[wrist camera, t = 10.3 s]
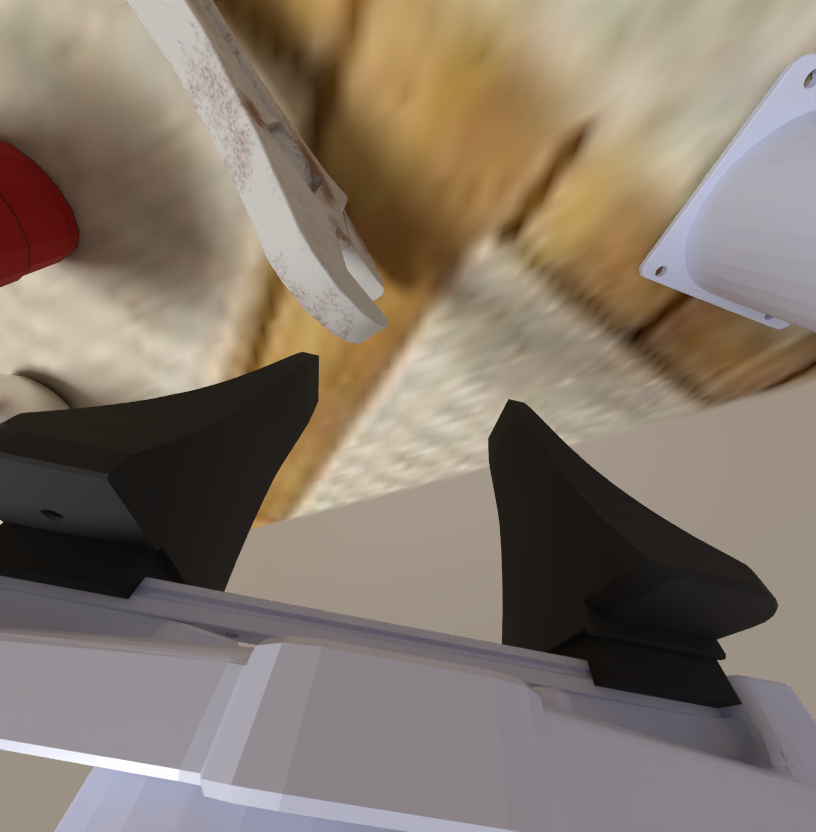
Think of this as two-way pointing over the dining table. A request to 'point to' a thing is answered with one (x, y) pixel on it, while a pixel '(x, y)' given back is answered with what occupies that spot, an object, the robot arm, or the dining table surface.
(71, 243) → the plastic cup
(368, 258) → the wrench
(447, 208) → the dining table surface
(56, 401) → the plastic bottle
